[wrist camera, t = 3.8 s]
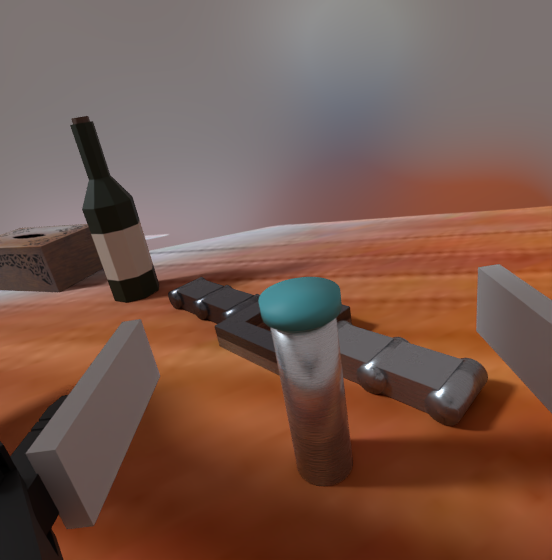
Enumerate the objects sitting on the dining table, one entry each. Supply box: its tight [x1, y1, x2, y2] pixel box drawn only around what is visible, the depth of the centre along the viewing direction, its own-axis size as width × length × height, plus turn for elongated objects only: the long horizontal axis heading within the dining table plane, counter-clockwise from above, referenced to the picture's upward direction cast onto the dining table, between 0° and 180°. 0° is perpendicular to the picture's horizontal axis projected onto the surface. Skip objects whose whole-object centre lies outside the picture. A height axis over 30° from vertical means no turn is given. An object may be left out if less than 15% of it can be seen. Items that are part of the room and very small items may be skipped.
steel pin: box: [259, 277, 353, 486], centre depth 29 cm, size 5×5×15 cm
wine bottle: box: [71, 116, 159, 303], centre depth 67 cm, size 8×8×30 cm
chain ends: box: [168, 277, 488, 426], centre depth 50 cm, size 12×46×3 cm, turn 45°
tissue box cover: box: [0, 224, 103, 292], centre depth 89 cm, size 26×14×10 cm, turn 68°
